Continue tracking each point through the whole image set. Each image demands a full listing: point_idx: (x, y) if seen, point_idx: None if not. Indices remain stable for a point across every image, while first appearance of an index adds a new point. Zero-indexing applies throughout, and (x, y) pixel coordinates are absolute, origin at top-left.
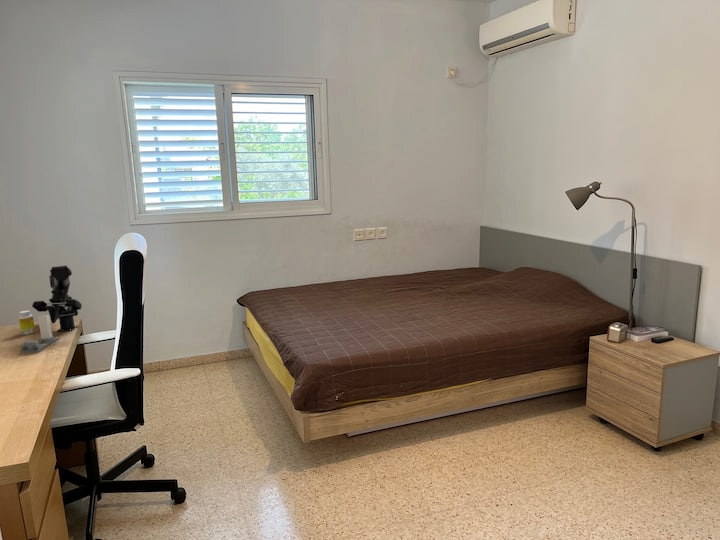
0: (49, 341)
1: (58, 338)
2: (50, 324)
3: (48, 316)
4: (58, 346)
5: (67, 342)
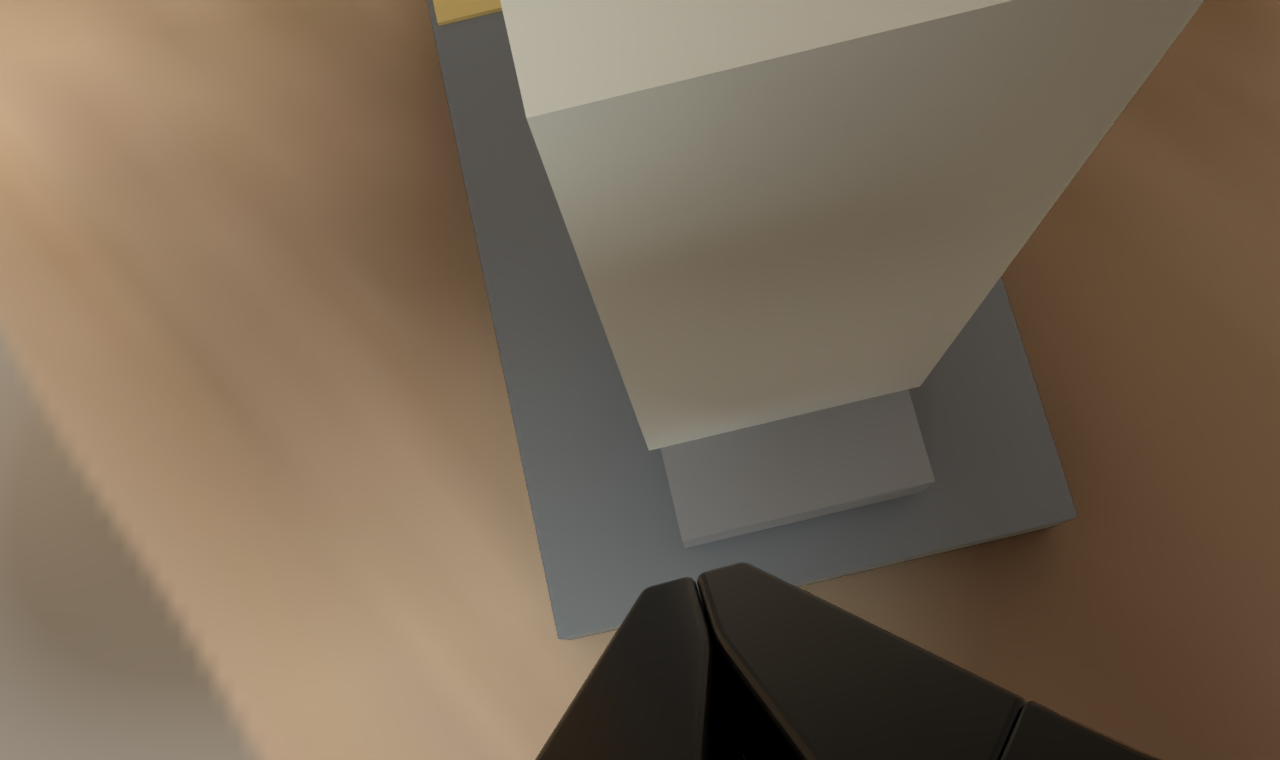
0: (559, 239)
1: (549, 585)
2: (609, 338)
3: (515, 45)
4: (198, 155)
5: (169, 469)
